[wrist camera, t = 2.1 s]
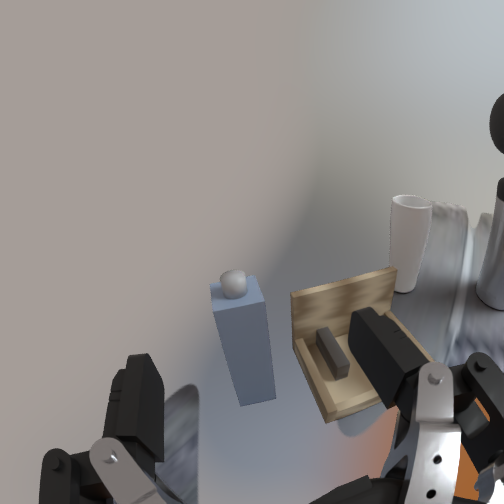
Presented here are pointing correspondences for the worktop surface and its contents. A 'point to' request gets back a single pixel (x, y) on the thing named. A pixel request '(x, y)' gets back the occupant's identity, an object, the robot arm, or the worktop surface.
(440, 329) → the worktop surface
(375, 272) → the box
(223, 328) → the blue square bottle
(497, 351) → the worktop surface
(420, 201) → the drinking glass
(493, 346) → the worktop surface
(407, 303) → the worktop surface
